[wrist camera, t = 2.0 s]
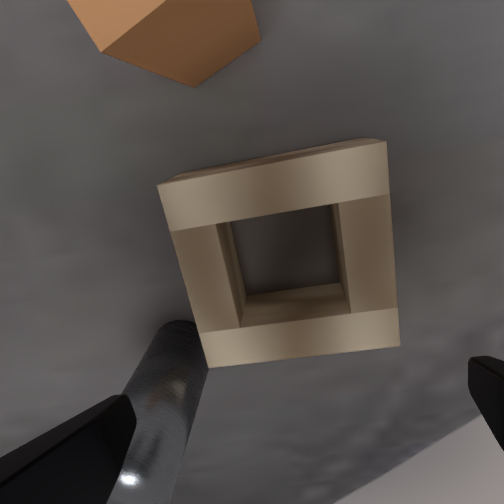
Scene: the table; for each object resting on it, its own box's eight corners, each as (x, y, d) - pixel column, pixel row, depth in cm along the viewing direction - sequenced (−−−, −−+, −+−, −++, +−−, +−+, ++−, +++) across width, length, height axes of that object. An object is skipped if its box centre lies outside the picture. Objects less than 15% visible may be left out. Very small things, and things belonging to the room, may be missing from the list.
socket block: (220, 327, 23) (208, 368, 19) (180, 173, 20) (156, 185, 16) (379, 307, 22) (400, 345, 18) (364, 137, 18) (386, 141, 15)
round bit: (149, 361, 24) (67, 511, 15) (161, 312, 23) (78, 445, 14) (205, 378, 24) (158, 537, 15) (220, 330, 23) (179, 474, 14)
